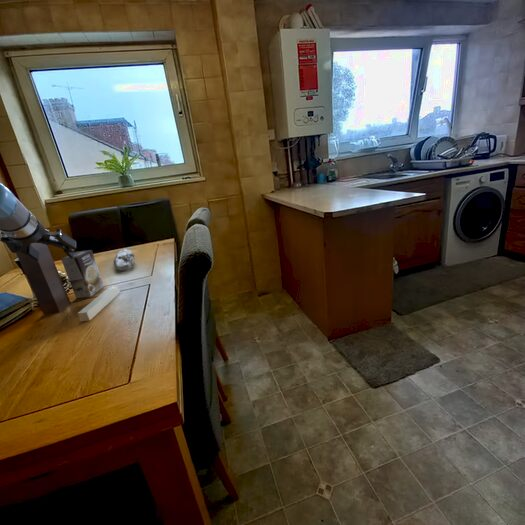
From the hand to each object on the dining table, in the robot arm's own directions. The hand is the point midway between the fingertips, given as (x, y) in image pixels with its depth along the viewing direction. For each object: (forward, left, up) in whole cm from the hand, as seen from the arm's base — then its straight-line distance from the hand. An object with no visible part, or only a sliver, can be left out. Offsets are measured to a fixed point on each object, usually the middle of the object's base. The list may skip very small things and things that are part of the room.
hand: (55, 255), depth 90 cm
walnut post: (-8, +1, -20) cm, 22 cm away
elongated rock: (-6, +49, -20) cm, 53 cm away
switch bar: (+9, +1, -20) cm, 22 cm away
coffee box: (-3, +13, -20) cm, 24 cm away
